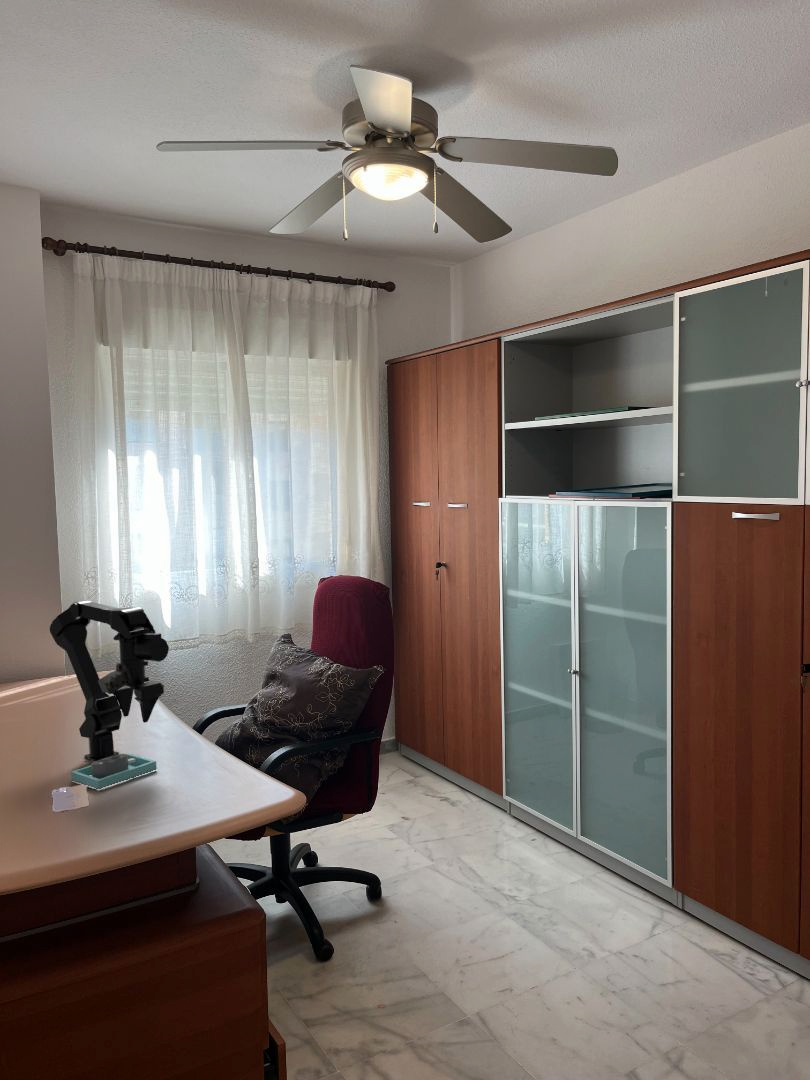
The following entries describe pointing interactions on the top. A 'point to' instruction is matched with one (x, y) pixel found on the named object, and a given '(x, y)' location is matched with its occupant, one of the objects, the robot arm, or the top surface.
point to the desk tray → (134, 770)
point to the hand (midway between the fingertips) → (135, 719)
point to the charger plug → (110, 765)
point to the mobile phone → (63, 799)
